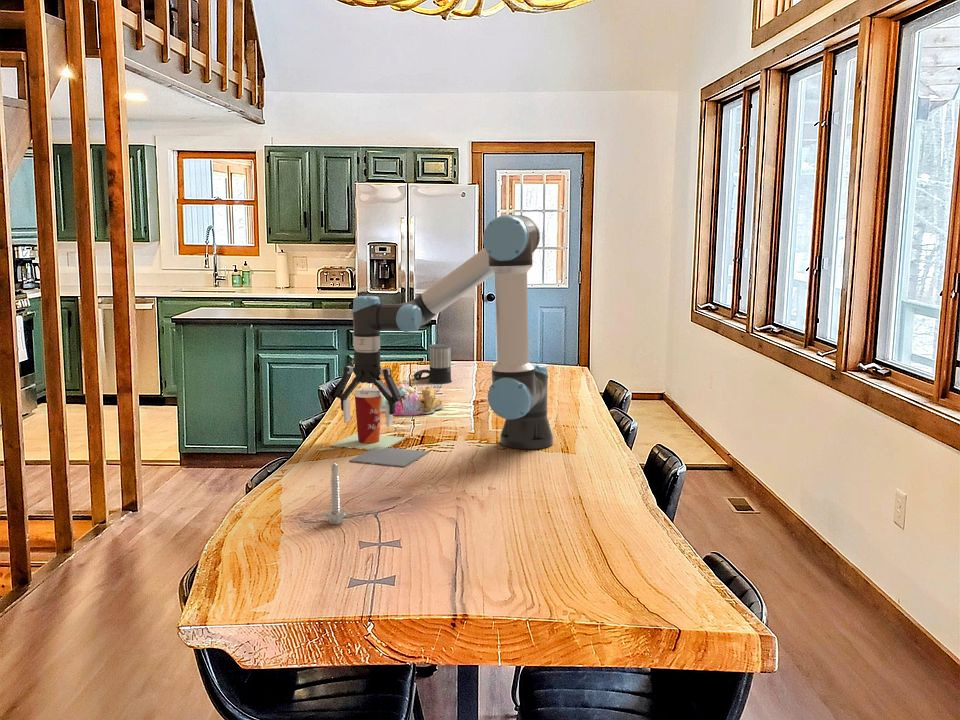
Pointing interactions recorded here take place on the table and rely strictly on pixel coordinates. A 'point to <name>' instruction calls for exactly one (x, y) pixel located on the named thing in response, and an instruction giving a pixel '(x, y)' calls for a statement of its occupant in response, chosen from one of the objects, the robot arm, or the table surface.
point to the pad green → (354, 443)
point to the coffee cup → (368, 414)
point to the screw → (335, 499)
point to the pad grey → (390, 456)
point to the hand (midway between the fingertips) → (368, 423)
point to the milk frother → (438, 364)
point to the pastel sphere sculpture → (413, 401)
